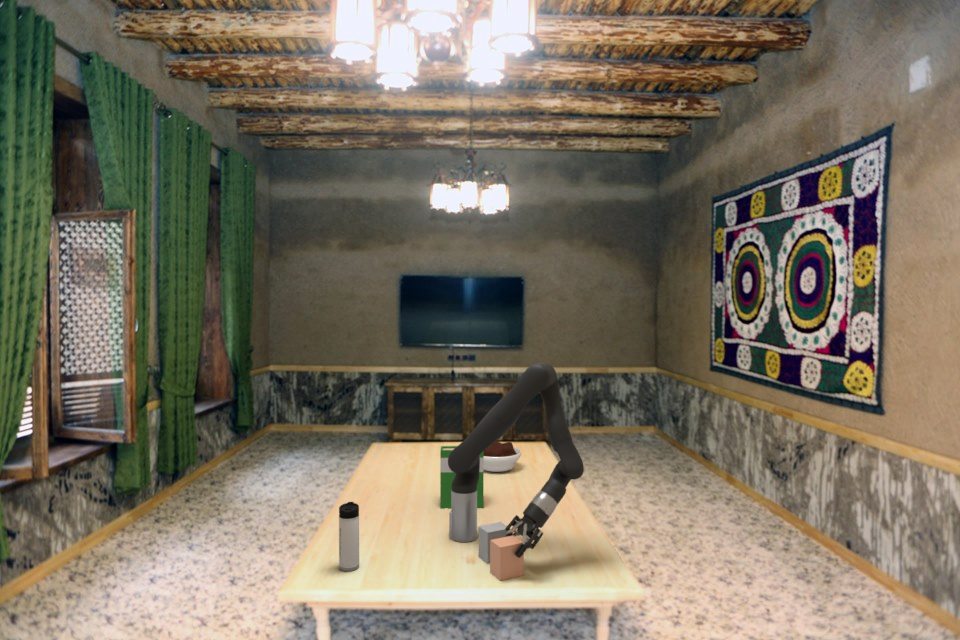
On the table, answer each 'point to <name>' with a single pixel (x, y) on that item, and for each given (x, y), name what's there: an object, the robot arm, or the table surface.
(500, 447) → the chocolate pudding bowl
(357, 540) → the travel mug
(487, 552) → the grey upright block
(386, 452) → the table surface
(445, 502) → the hardback book
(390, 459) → the table surface
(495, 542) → the terracotta clay block
